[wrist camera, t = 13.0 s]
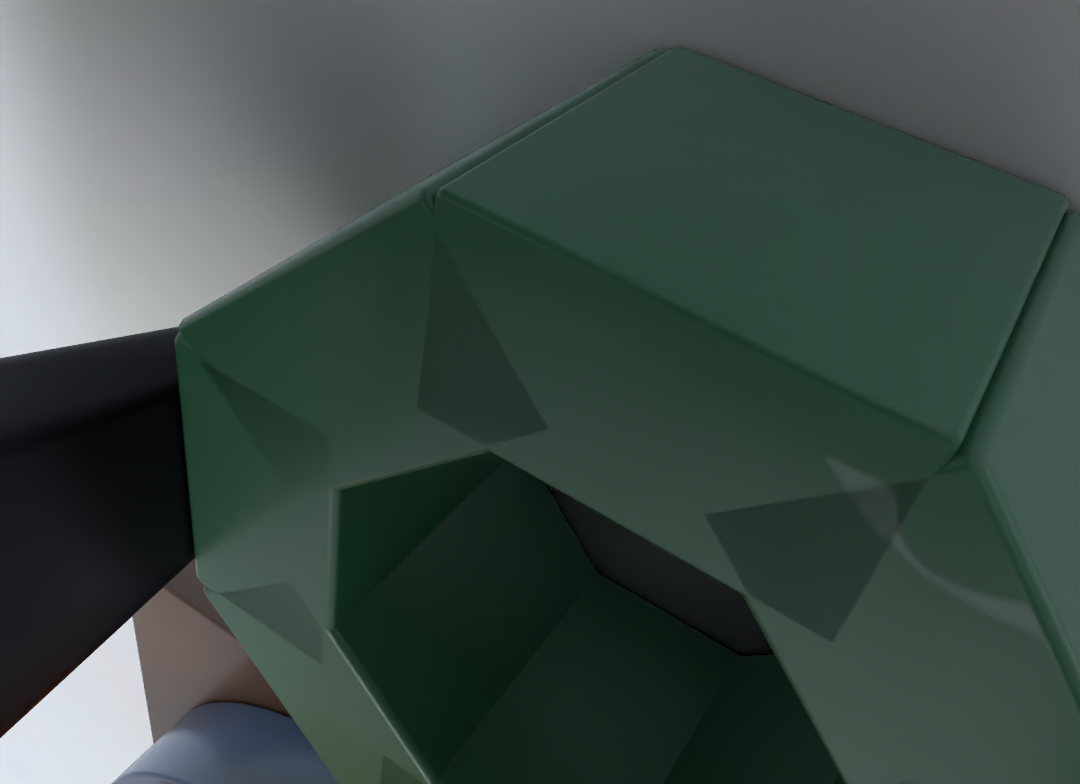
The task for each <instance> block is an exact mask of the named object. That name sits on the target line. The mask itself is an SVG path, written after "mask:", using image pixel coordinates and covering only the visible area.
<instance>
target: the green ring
mask: <svg viewBox="0 0 1080 784" xmlns="http://www.w3.org/2000/svg"><path fill="white" fill-rule="evenodd" d="M1068 202H1069V200H1068V198H1066V197H1065V196H1064V195H1061V194H1059V193H1056V192H1054V191H1051V190H1048V189H1046V188H1043V187H1041V186H1038V185H1036V184H1033V183H1030V182H1028V181H1025V180H1023V179H1020V178H1018V177H1015V176H1012V175H1010V174H1007V173H1005V172H1002V171H1000V170H997V169H994V168H992V167H989V166H987V165H984V164H981V163H979V162H976V161H974V160H971V159H969V158H966V157H963V156H961V155H958V154H956V153H953V152H951V151H948V150H945V149H943V148H940V147H938V146H935V145H932V144H930V143H927V142H925V141H922V140H920V139H917V138H914V137H912V136H909V135H907V134H904V133H902V132H899V131H896V130H894V129H891V128H889V127H886V126H884V125H881V124H878V123H876V122H873V121H871V120H868V119H865V118H863V117H860V116H858V115H855V114H853V113H850V112H847V111H845V110H842V109H840V108H837V107H835V106H832V105H829V104H827V103H824V102H822V101H819V100H816V99H814V98H811V97H809V96H806V95H804V94H801V93H798V92H796V91H793V90H791V89H788V88H786V87H783V86H780V85H778V84H775V83H773V82H770V81H768V80H765V79H762V78H760V77H757V76H755V75H752V74H749V73H747V72H744V71H742V70H739V69H737V68H734V67H731V66H729V65H726V64H724V63H721V62H719V61H716V60H713V59H711V58H708V57H706V56H703V55H700V54H698V53H695V52H693V51H690V50H688V49H685V48H682V47H674V48H672V49H670V50H669V51H667V52H666V51H665V50H654V51H652V52H650V53H648V54H647V55H645V56H643V57H641V58H639V59H638V60H636V61H634V62H632V63H630V64H629V65H627V66H625V67H623V68H622V69H620V70H618V71H616V72H614V73H613V74H611V75H609V76H607V77H606V78H604V79H602V80H600V81H598V82H597V83H595V84H593V85H591V86H590V87H588V88H586V89H584V90H582V91H581V92H579V93H577V94H575V95H574V96H572V97H570V98H568V99H566V100H565V101H563V102H561V103H559V104H558V105H556V106H554V107H552V108H550V109H549V110H547V111H545V112H543V113H542V114H540V115H538V116H536V117H534V118H533V119H531V120H529V121H527V122H525V123H524V124H522V125H520V126H518V127H517V128H515V129H513V130H511V131H509V132H508V133H506V134H504V135H502V136H501V137H499V138H497V139H495V140H493V141H492V142H490V143H488V144H486V145H485V146H483V147H481V148H479V149H477V150H476V151H474V152H472V153H470V154H469V155H467V156H465V157H463V158H461V159H460V160H458V161H456V162H454V163H453V164H451V165H449V166H447V167H445V168H444V169H442V170H440V171H438V172H436V173H435V174H433V175H431V176H429V177H428V178H426V179H424V180H422V181H420V182H419V183H417V184H415V185H414V186H412V187H410V188H408V189H407V190H405V191H403V192H402V193H400V194H398V195H396V196H395V197H393V198H391V199H389V200H388V201H386V202H384V203H383V204H381V205H379V206H377V207H376V208H374V209H372V210H371V211H369V212H367V213H365V214H364V215H362V216H360V217H358V218H357V219H355V220H353V221H352V222H350V223H348V224H346V225H345V226H343V227H341V228H340V229H338V230H336V231H334V232H333V233H331V234H329V235H327V236H326V237H324V238H322V239H321V240H319V241H317V242H315V243H314V244H312V245H310V246H308V247H307V248H305V249H303V250H302V251H300V252H298V253H296V254H295V255H293V256H291V257H290V258H288V259H286V260H284V261H283V262H281V263H279V264H277V265H276V266H274V267H272V268H271V269H269V270H267V271H265V272H264V273H262V274H260V275H259V276H257V277H255V278H253V279H252V280H250V281H248V282H246V283H245V284H243V285H241V286H240V287H238V288H236V289H234V290H233V291H231V292H229V293H227V294H226V295H224V296H222V297H221V298H219V299H217V300H215V301H214V302H212V303H210V304H209V305H207V306H205V307H203V308H202V309H200V310H198V311H196V312H195V313H193V314H191V315H190V316H188V317H186V318H184V319H183V321H182V322H181V324H180V325H179V330H180V332H179V333H178V334H177V335H176V338H175V341H174V343H175V353H176V364H177V374H178V385H179V395H180V406H181V416H182V427H183V437H184V448H185V458H186V469H187V479H188V490H189V501H190V511H191V522H192V532H193V543H194V553H195V564H196V574H197V577H198V579H199V581H200V582H201V583H203V584H204V585H205V587H204V591H205V594H206V596H207V597H208V598H209V600H210V601H211V603H212V604H213V606H214V607H215V608H216V610H217V611H218V613H219V614H220V616H221V617H222V618H223V620H224V621H225V623H226V624H227V626H228V627H229V628H230V630H231V631H232V633H233V634H234V635H235V637H236V638H237V640H238V641H239V643H240V644H241V645H242V647H243V648H244V650H245V651H246V653H247V654H248V655H249V657H250V658H251V660H252V661H253V663H254V664H255V665H256V667H257V668H258V670H259V671H260V673H261V674H262V675H263V677H264V678H265V680H266V681H267V683H268V684H269V685H270V687H271V688H272V690H273V691H274V693H275V694H276V695H277V697H278V698H279V700H280V701H281V703H282V704H283V705H284V707H285V708H286V710H287V711H288V712H289V714H290V715H291V717H292V718H293V720H294V721H295V722H296V724H297V725H298V727H299V728H300V730H301V731H302V732H303V734H304V735H305V737H306V738H307V740H308V741H309V742H310V744H311V745H312V747H313V748H314V750H315V751H316V752H317V754H318V755H319V757H320V758H321V760H322V761H323V762H324V764H325V765H326V767H327V768H328V770H329V771H330V772H331V774H332V775H333V777H334V778H335V780H336V781H337V782H338V784H1080V215H1079V214H1078V213H1065V212H1066V210H1067V207H1068ZM545 483H546V484H548V485H550V486H551V487H553V488H555V489H557V490H558V491H560V492H562V493H564V494H566V495H567V496H569V497H571V498H573V499H574V500H576V501H578V502H580V503H581V504H583V505H585V506H587V507H589V508H590V509H592V510H594V511H596V512H597V513H599V514H601V515H603V516H604V517H606V518H608V519H610V520H612V521H613V522H615V523H617V524H619V525H620V526H622V527H624V528H626V529H627V530H629V531H631V532H633V533H635V534H636V535H638V536H640V537H642V538H643V539H645V540H647V541H649V542H650V543H652V544H654V545H656V546H658V547H659V548H661V549H663V550H665V551H666V552H668V553H670V554H672V555H673V556H675V557H677V558H679V559H681V560H682V561H684V562H686V563H688V564H689V565H691V566H693V567H695V568H696V569H698V570H700V571H702V572H704V573H705V574H707V575H709V576H711V577H712V578H714V579H716V580H718V581H719V582H721V583H723V584H725V585H727V586H728V587H730V588H732V589H734V590H735V591H737V592H739V593H741V594H742V596H743V597H744V599H745V601H746V603H747V605H748V607H749V608H750V610H751V612H752V614H753V616H754V618H755V619H756V621H757V623H758V625H759V627H760V629H761V630H762V632H763V634H764V636H765V638H766V639H767V641H768V643H769V645H770V647H771V649H772V650H773V652H774V655H752V656H739V655H737V654H736V653H734V652H732V651H731V650H729V649H727V648H725V647H724V646H722V645H720V644H719V643H717V642H715V641H713V640H712V639H710V638H708V637H707V636H705V635H703V634H702V633H700V632H698V631H696V630H695V629H693V628H691V627H690V626H688V625H686V624H684V623H683V622H681V621H679V620H678V619H676V618H674V617H673V616H671V615H669V614H667V613H666V612H664V611H662V610H661V609H659V608H657V607H656V606H654V605H652V604H650V603H649V602H647V601H645V600H644V599H642V598H640V597H638V596H637V595H635V594H633V593H632V592H630V591H628V590H627V589H625V588H623V587H621V586H620V585H618V584H616V583H615V582H613V581H611V580H609V579H608V578H606V577H604V576H603V575H601V574H599V573H598V572H597V571H596V569H595V568H594V566H593V564H592V563H591V561H590V559H589V557H588V556H587V554H586V552H585V551H584V549H583V547H582V545H581V544H580V542H579V540H578V539H577V537H576V535H575V533H574V532H573V530H572V528H571V527H570V525H569V523H568V521H567V520H566V518H565V516H564V515H563V513H562V511H561V509H560V508H559V506H558V504H557V503H556V501H555V499H554V498H553V496H552V494H551V492H550V491H549V489H548V487H547V486H546V484H545Z"/></svg>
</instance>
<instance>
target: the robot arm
mask: <svg viewBox="0 0 1080 784" xmlns="http://www.w3.org/2000/svg"><path fill="white" fill-rule="evenodd" d="M179 332H180V330H179V327H175V328H169V329H163V330H158V331H152V332H146V333H141V334H135V335H129V336H124V337H118V338H112V339H107V340H101V341H96V342H90V343H84V344H79V345H73V346H67V347H62V348H56V349H50V350H45V351H39V352H33V353H28V354H22V355H16V356H11V357H5V358H0V738H1V737H2V736H3V735H4V734H5V733H6V732H7V731H8V730H10V729H11V728H12V727H13V726H14V725H15V724H16V723H17V722H18V721H19V720H20V719H21V718H23V717H24V716H25V715H26V714H27V713H28V712H29V711H30V710H31V709H32V708H33V707H34V706H36V705H37V704H38V703H39V702H40V701H41V700H42V699H43V698H44V697H45V696H46V695H47V694H49V693H50V692H51V691H52V690H53V689H54V688H55V687H56V686H57V685H58V684H59V683H60V682H61V681H63V680H64V679H65V678H66V677H67V676H68V675H69V674H70V673H71V672H72V671H73V670H74V669H76V668H77V667H78V666H79V665H80V664H81V663H82V662H83V661H84V660H85V659H86V658H87V657H89V656H90V655H91V654H92V653H93V652H94V651H95V650H96V649H97V648H98V647H99V646H100V645H102V644H103V643H104V642H105V641H106V640H107V639H108V638H109V637H110V636H111V635H112V634H113V633H115V632H116V631H117V630H118V629H119V628H120V627H121V626H122V625H123V624H124V623H125V622H126V621H128V620H129V619H130V618H131V617H132V616H133V615H134V614H135V613H136V612H137V611H138V610H139V609H140V608H142V607H143V606H144V605H145V604H146V603H147V602H148V601H149V600H150V599H151V598H152V597H153V596H155V595H156V594H157V593H158V592H159V591H160V590H161V589H162V588H163V587H164V586H165V585H166V584H168V583H169V582H170V581H171V580H172V579H173V578H174V577H175V576H176V575H177V574H178V573H179V572H181V571H182V570H183V569H184V568H185V567H186V566H187V565H188V564H189V563H190V562H191V561H192V560H194V559H195V553H194V543H193V532H192V522H191V511H190V501H189V490H188V479H187V469H186V458H185V448H184V437H183V427H182V416H181V406H180V395H179V385H178V374H177V364H176V353H175V343H174V341H175V338H176V335H177V334H178V333H179Z"/></svg>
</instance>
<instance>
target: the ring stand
mask: <svg viewBox="0 0 1080 784" xmlns="http://www.w3.org/2000/svg"><path fill="white" fill-rule="evenodd" d="M204 587H205V585H204V584H203V583H201V582H200V581H199V579H198V577H197V574H196V564H195V559H194V560H192V561H191V562H190V563H189V564H188V565H187V566H186V567H185V568H184V569H183V570H182V571H181V572H179V573H178V574H177V575H176V576H175V577H174V578H173V579H172V580H171V581H170V582H169V583H168V584H166V585H165V586H164V587H163V588H162V589H161V590H160V591H159V592H158V593H157V594H156V595H155V596H153V597H152V598H151V599H150V600H149V601H148V602H147V603H146V604H145V605H144V606H143V607H142V608H140V609H139V610H138V611H137V612H136V613H135V614H134V615H133V622H134V628H135V634H136V640H137V646H138V652H139V658H140V664H141V670H142V677H143V683H144V689H145V695H146V701H147V707H148V713H149V719H150V725H151V731H152V737H153V743H154V744H153V745H152V746H151V747H150V748H149V749H148V750H147V751H146V752H145V753H144V754H143V755H142V756H141V757H139V758H138V759H137V760H136V761H135V762H134V763H133V764H132V765H131V766H130V767H129V768H128V769H127V770H126V771H124V772H123V773H122V774H121V775H120V776H119V777H118V778H117V779H116V780H115V781H114V782H113V783H112V784H338V782H337V781H336V780H335V778H334V777H333V775H332V774H331V772H330V771H329V770H328V768H327V767H326V765H325V764H324V762H323V761H322V760H321V758H320V757H319V755H318V754H317V752H316V751H315V750H314V748H313V747H312V745H311V744H310V742H309V741H308V740H307V738H306V737H305V735H304V734H303V732H302V731H301V730H300V728H299V727H298V725H297V724H296V722H295V721H294V720H293V718H292V717H291V715H290V714H289V712H288V711H287V710H286V708H285V707H284V705H283V704H282V703H281V701H280V700H279V698H278V697H277V695H276V694H275V693H274V691H273V690H272V688H271V687H270V685H269V684H268V683H267V681H266V680H265V678H264V677H263V675H262V674H261V673H260V671H259V670H258V668H257V667H256V665H255V664H254V663H253V661H252V660H251V658H250V657H249V655H248V654H247V653H246V651H245V650H244V648H243V647H242V645H241V644H240V643H239V641H238V640H237V638H236V637H235V635H234V634H233V633H232V631H231V630H230V628H229V627H228V626H227V624H226V623H225V621H224V620H223V618H222V617H221V616H220V614H219V613H218V611H217V610H216V608H215V607H214V606H213V604H212V603H211V601H210V600H209V598H208V597H207V596H206V594H205V591H204Z"/></svg>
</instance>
